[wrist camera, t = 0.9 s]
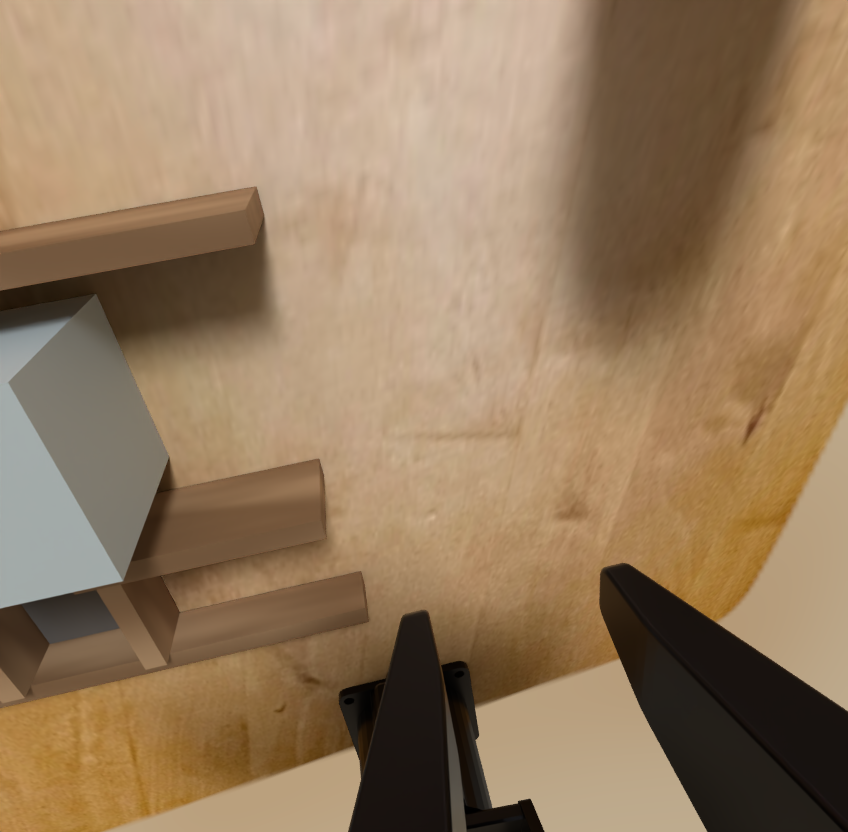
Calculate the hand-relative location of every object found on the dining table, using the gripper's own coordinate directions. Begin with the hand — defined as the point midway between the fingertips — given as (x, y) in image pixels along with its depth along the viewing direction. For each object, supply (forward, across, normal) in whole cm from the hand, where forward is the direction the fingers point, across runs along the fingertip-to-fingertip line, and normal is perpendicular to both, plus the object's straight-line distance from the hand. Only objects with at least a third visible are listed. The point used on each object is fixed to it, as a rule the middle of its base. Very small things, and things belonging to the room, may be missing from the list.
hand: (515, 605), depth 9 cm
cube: (+12, +12, 0) cm, 17 cm away
